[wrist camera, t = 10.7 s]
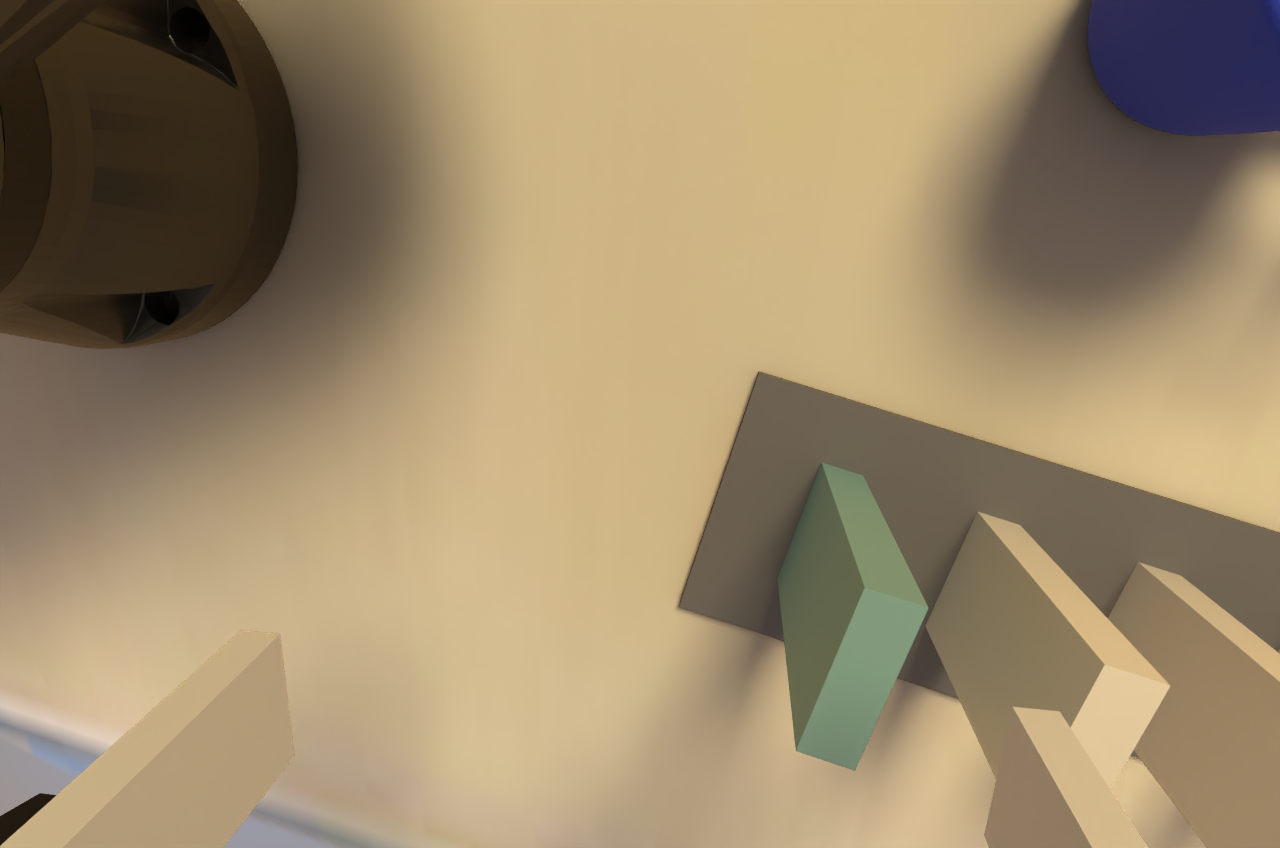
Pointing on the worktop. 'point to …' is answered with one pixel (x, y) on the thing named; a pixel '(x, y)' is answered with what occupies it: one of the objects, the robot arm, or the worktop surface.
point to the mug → (1190, 63)
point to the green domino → (844, 617)
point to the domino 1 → (1038, 649)
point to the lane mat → (954, 517)
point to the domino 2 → (1207, 709)
